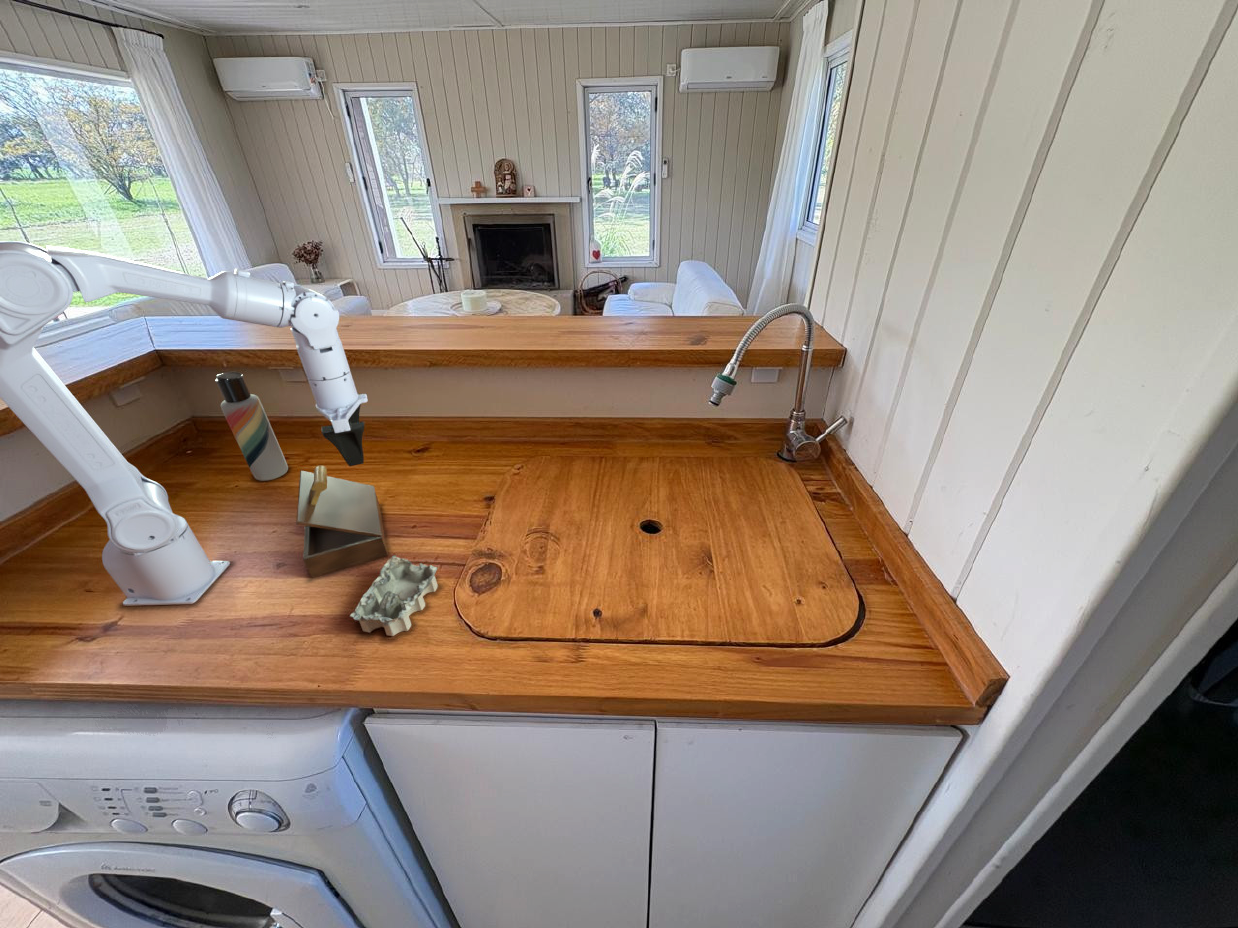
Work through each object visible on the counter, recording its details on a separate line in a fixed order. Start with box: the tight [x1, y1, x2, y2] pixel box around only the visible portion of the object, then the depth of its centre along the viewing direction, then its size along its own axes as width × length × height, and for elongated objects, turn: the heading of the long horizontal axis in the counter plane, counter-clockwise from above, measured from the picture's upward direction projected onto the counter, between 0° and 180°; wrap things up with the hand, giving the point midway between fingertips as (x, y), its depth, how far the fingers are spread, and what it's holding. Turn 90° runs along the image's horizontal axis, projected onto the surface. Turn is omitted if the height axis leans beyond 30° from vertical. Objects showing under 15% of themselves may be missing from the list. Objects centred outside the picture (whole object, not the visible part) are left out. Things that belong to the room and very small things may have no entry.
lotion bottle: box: [215, 371, 289, 482], centre depth 89 cm, size 6×6×20 cm
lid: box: [295, 465, 382, 537], centre depth 74 cm, size 11×14×4 cm
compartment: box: [302, 492, 389, 579], centre depth 77 cm, size 10×14×4 cm
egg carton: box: [349, 554, 439, 637], centre depth 66 cm, size 11×8×4 cm
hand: (355, 452), depth 80 cm, fingers open, 7 cm apart
